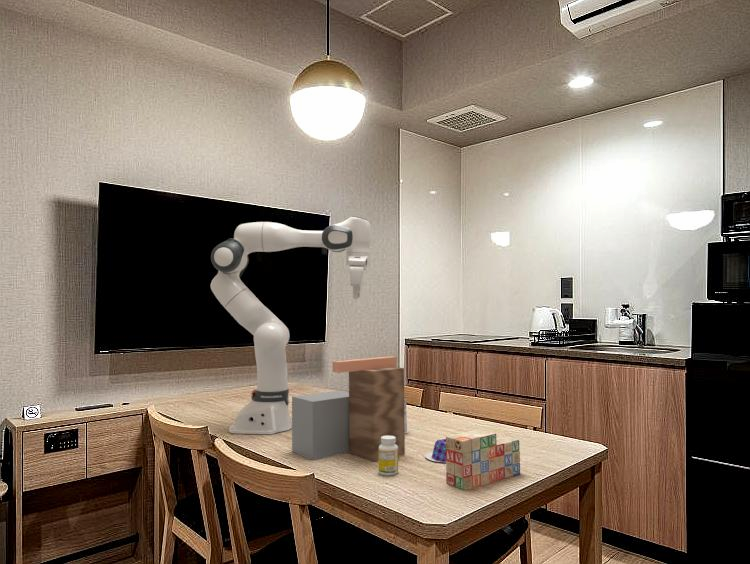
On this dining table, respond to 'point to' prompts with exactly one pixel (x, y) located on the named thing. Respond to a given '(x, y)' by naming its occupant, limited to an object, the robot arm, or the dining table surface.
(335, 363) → the rail
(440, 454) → the pudding
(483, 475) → the stack of blocks
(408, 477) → the dining table surface
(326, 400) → the pedestal
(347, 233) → the robot arm
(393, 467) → the supplement bottle
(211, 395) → the dining table surface
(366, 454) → the stand
